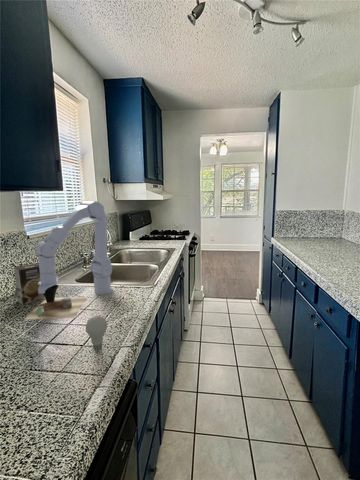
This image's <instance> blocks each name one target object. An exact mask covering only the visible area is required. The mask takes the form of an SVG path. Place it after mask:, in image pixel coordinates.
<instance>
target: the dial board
mask: <svg viewBox="0 0 360 480" xmlns="http://www.w3.org/2000/svg"><path fill="white" fill-rule="evenodd" d="M64 298H71V302H72V306H71V307H69V308H57V309H53V310H48V311H44V310H43V305H42V306H39V305H37V307H36V308H35V309H33V310H32V311H31V312H30V313H29V314H28V315H27V316H26V317H25V318H24V320H27V321H28V320H49V319H50V320H51V319H75V318H76V317H77V315H78V313H79V311H80V310H81V308H82V307H83V305H84V304H85V303H86V301H87V300H88V298H89V296H72V297H69V296H68V297H55V300H54V301H58V300H62V299H64ZM43 303H47V301H46V299H45V298H44V300H43V301H42V302H41V303H40V304H43Z"/></svg>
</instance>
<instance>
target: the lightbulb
mask: <svg viewBox="0 0 360 480" xmlns="http://www.w3.org/2000/svg"><path fill="white" fill-rule="evenodd" d="M107 328H108V322H107V319H106V318H104V317H103V316H101V315H93V316H91V317H90V318H89V319H88V320H87V322H86V324H85V332H86V334H87V335H88V336H89V337H90V340H91V343H92V349H93V351H95V352H99V351H101V350H102V349H103V342H104V336H105V333H106V332H107V330H108V329H107Z"/></svg>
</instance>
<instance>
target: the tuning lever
mask: <svg viewBox="0 0 360 480" xmlns="http://www.w3.org/2000/svg"><path fill="white" fill-rule="evenodd" d="M42 305H43V310H44V311H48V310H53V309H57V308H69V307H71V306H72V302H71V298H64V299H62V300H58V301H53V302H48V303H43V304H41V303H40V304H39V305H38V306H42Z"/></svg>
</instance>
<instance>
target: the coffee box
mask: <svg viewBox="0 0 360 480" xmlns="http://www.w3.org/2000/svg"><path fill="white" fill-rule="evenodd" d="M13 270H14V272H13V273H14V280H15V293H16V302H18V303H20V304H21V305H23V306H24V305H27V304H30V303H34V302H37V301H40V300H43V299H44V300H45V297H44V295H43V294H38V288H39V287H40V285H38V282H41V281H40V270H39V263H38V264H37V263H32V264H31V263H30V264H27V265H21V266H16V267H14V268H13Z"/></svg>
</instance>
